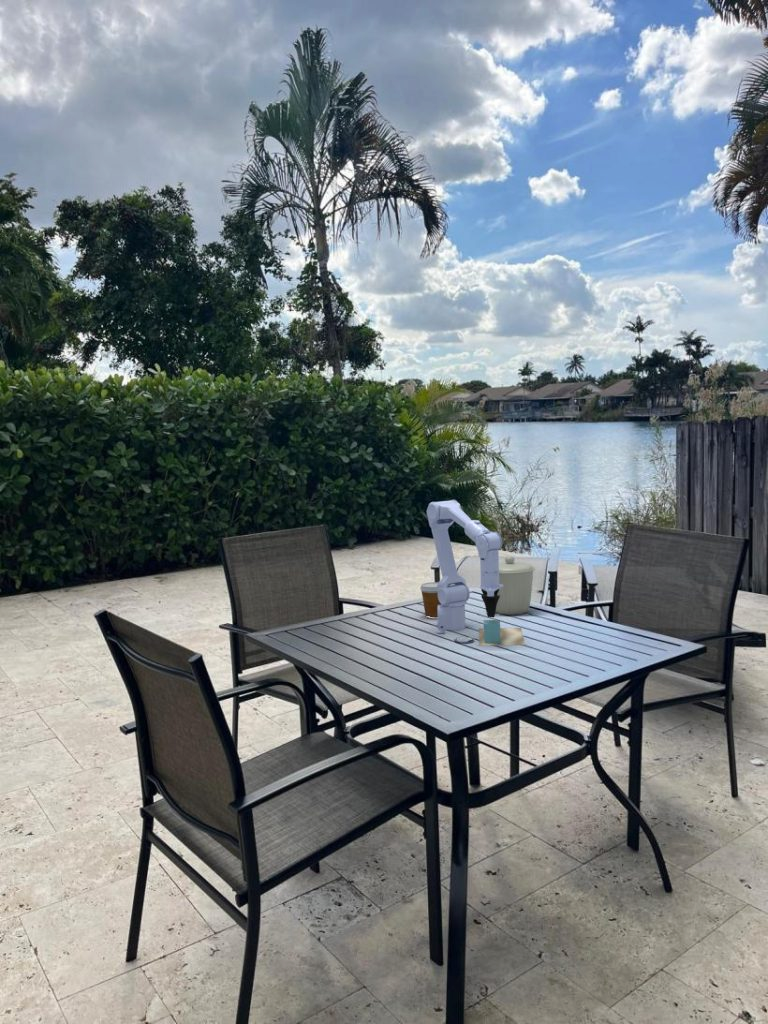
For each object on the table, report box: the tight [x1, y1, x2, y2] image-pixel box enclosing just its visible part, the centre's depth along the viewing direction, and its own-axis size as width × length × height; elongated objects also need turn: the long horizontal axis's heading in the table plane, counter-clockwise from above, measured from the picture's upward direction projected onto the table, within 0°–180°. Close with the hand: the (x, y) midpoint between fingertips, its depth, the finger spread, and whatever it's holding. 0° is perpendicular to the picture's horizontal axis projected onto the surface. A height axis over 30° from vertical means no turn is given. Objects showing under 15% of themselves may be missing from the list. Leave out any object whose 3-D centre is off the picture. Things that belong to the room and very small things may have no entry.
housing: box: [483, 619, 501, 643], centre depth 228 cm, size 5×5×6 cm
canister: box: [496, 554, 536, 616], centre depth 268 cm, size 18×18×21 cm
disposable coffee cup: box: [420, 581, 441, 617], centre depth 266 cm, size 10×10×12 cm
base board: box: [478, 627, 526, 646], centre depth 232 cm, size 14×20×5 cm
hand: (490, 614), depth 229 cm, fingers open, 7 cm apart
